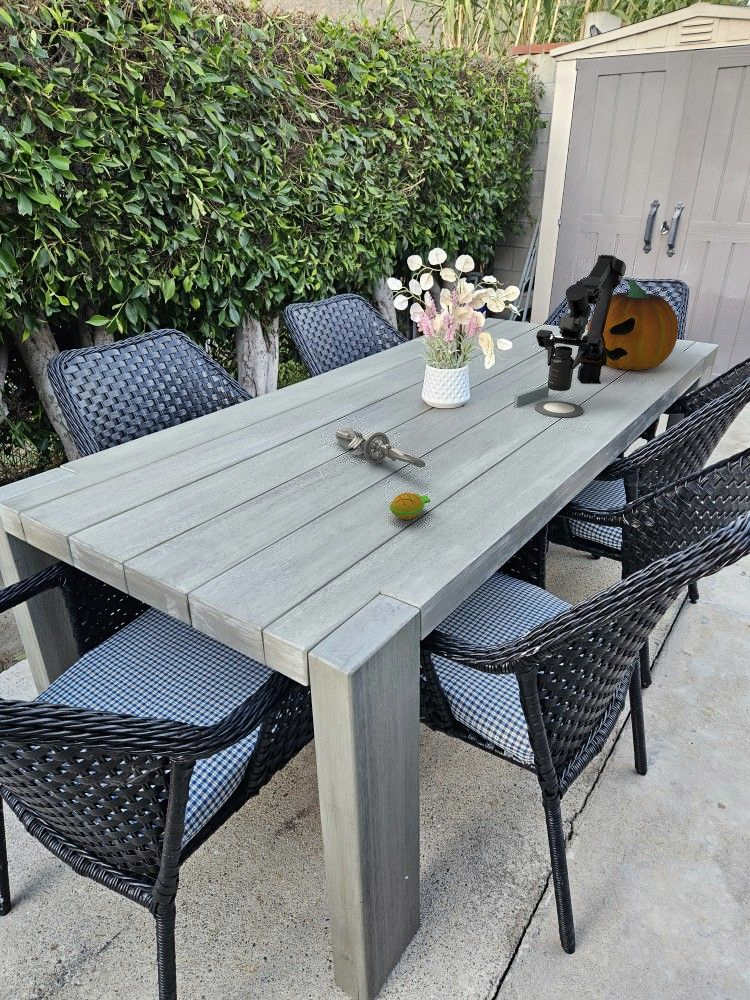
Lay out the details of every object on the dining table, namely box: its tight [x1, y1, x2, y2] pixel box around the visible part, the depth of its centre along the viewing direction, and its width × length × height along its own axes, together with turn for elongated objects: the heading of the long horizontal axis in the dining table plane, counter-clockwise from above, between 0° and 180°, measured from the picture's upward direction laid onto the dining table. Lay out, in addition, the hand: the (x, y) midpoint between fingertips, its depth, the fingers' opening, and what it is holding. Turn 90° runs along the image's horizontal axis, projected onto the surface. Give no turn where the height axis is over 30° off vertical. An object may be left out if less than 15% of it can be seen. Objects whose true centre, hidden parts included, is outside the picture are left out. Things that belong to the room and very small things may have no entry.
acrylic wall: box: [513, 384, 550, 408], centre depth 210 cm, size 16×1×4 cm, turn 132°
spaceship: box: [333, 427, 426, 468], centre depth 166 cm, size 8×35×8 cm
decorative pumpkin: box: [586, 278, 679, 371], centre depth 241 cm, size 30×30×30 cm
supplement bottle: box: [547, 345, 575, 392], centre depth 199 cm, size 7×7×12 cm
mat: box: [534, 400, 584, 419], centre depth 204 cm, size 14×14×1 cm
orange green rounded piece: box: [389, 491, 431, 521], centre depth 143 cm, size 7×10×5 cm
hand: (560, 367), depth 197 cm, fingers closed on supplement bottle, 7 cm apart
